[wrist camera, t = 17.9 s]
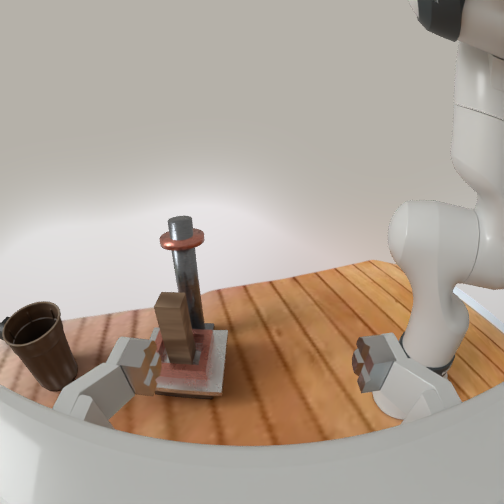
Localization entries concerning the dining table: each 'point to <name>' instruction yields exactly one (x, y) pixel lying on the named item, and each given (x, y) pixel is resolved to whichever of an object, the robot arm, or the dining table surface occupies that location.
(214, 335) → the bracket
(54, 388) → the plant pot
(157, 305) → the tall wooden post
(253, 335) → the dining table surface
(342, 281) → the dining table surface
